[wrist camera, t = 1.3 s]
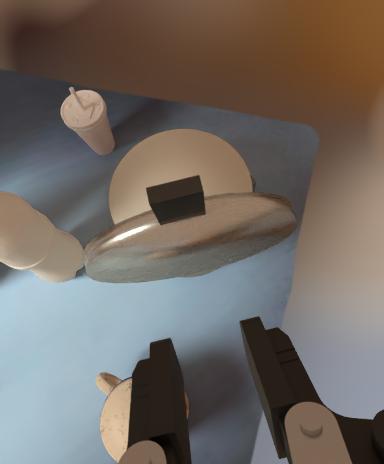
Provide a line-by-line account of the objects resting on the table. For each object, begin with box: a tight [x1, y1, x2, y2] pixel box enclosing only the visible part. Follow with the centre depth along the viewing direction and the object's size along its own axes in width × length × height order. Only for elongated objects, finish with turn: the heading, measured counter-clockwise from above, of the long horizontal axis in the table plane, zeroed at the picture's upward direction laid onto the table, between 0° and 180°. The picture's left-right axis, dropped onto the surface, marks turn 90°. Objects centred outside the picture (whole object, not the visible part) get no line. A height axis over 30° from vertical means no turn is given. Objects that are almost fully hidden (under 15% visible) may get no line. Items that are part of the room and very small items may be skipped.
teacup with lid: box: [96, 372, 189, 463], centre depth 40 cm, size 12×9×12 cm
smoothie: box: [61, 87, 115, 155], centre depth 51 cm, size 6×6×14 cm
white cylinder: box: [109, 129, 256, 277], centre depth 48 cm, size 18×19×10 cm
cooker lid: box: [83, 175, 297, 283], centre depth 29 cm, size 22×19×2 cm
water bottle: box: [0, 191, 85, 283], centre depth 40 cm, size 7×7×25 cm
